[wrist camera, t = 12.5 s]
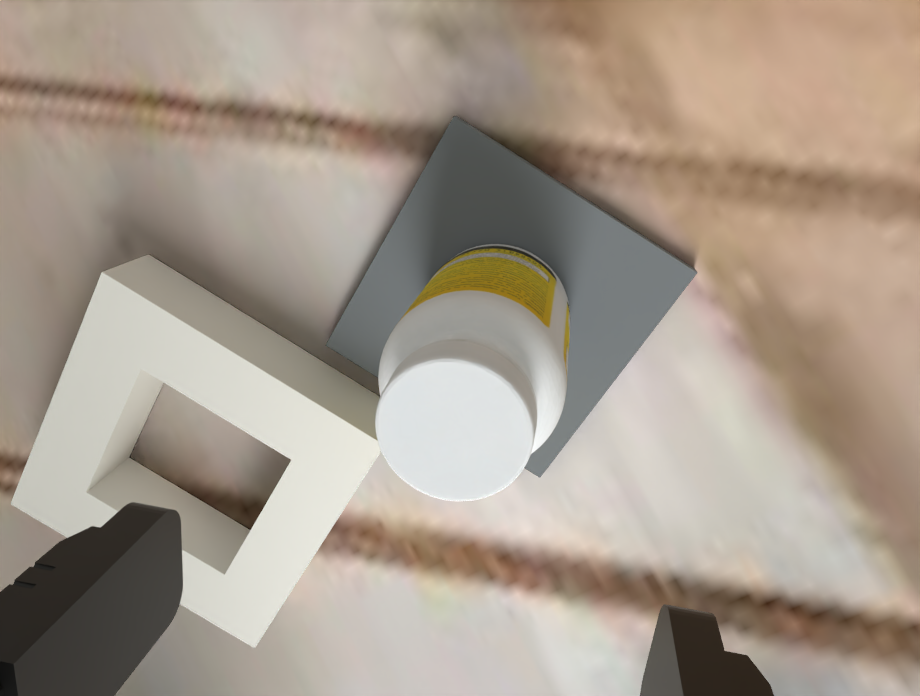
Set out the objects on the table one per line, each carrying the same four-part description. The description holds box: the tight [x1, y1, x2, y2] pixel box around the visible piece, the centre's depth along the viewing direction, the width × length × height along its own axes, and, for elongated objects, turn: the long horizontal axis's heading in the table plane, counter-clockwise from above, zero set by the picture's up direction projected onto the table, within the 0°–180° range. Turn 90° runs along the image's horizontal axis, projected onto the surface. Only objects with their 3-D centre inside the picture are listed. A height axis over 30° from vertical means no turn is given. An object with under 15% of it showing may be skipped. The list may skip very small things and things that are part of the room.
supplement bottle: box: [375, 244, 570, 501], centre depth 22 cm, size 5×5×10 cm
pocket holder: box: [11, 254, 381, 648], centre depth 30 cm, size 12×12×3 cm
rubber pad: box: [326, 116, 697, 477], centre depth 27 cm, size 10×10×1 cm
